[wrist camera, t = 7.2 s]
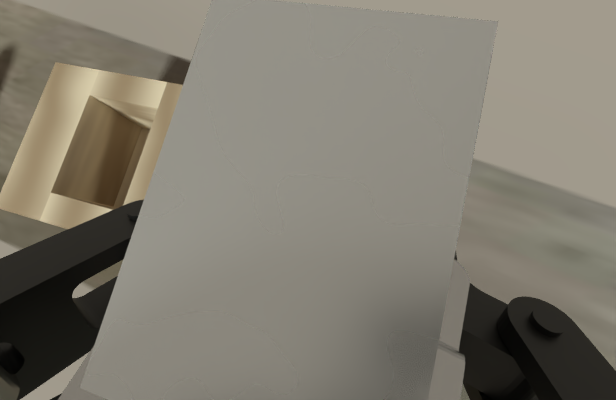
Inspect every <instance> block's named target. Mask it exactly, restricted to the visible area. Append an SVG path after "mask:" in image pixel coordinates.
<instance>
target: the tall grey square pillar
mask: <svg viewBox="0 0 616 400" xmlns="http://www.w3.org/2000/svg"><path fill="white" fill-rule="evenodd" d="M497 25H498V21H488V20H478V19H467V18H456V17H445V16H434V15H424V14H413V13H403V12H392V11H382V10H370V9H360V8H350V7H339V6H328V5H318V4H307V3H296V2H285V1H274V0H212V2H211V4H210V7H209V11H208V13H207V16H206V19H205V22H204V25H203V28H202V31H201V34H200V37H199V40H198V43H197V46H196V48H195V51H194V54H193V58H192V60H191V63H190V66H189V69H188V72H187V75H186V78H185V81H184V84H183V87H182V90H181V92H180V95H179V98H178V101H177V104H176V107H175V110H174V113H173V116H172V119H171V122H170V125H169V128H168V131H167V134H166V136H165V139H164V142H163V145H162V148H161V151H160V154H159V157H158V160H157V163H156V166H155V169H154V172H153V175H152V178H151V180H150V183H149V186H148V189H147V192H146V195H145V198H144V201H143V204H142V207H141V210H140V213H139V216H138V219H137V222H136V225H135V227H134V230H133V233H132V236H131V239H130V242H129V245H128V248H127V251H126V254H125V257H124V260H123V263H122V266H121V269H120V271H119V274H118V277H117V280H116V283H115V286H114V289H113V292H112V295H111V298H110V301H109V304H108V307H107V310H106V313H105V315H104V318H103V321H102V324H101V327H100V330H99V333H98V336H97V339H96V342H95V345H94V348H93V351H92V354H91V357H90V359H89V362H88V365H87V368H86V371H85V374H84V377H83V380H82V383H81V386H80V388H81V389H84V390H86V391H88V392H91V393H93V394H95V395H98V396H100V397H103V398H105V399H107V400H428V397H429V392H430V386H431V381H432V375H433V370H434V365H435V359H436V354H437V348H438V343H439V338H440V332H441V327H442V322H443V316H444V311H445V305H446V300H447V295H448V289H449V284H450V278H451V273H452V268H453V262H454V257H455V251H456V246H457V241H458V235H459V230H460V224H461V219H462V214H463V208H464V203H465V197H466V192H467V187H468V181H469V176H470V170H471V165H472V160H473V154H474V149H475V143H476V138H477V133H478V127H479V122H480V116H481V111H482V105H483V100H484V95H485V89H486V84H487V79H488V73H489V67H490V62H491V57H492V52H493V46H494V40H495V35H496V30H497Z"/></svg>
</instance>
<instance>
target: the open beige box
mask: <svg viewBox="0 0 616 400" xmlns="http://www.w3.org/2000/svg"><path fill="white" fill-rule="evenodd" d="M182 87H183V85H181V84H175V83H169V82H164V81H158V80H152V79H147V78H141V77H135V76H130V75H124V74H118V73H113V72H107V71H101V70H96V69H90V68H85V67H79V66H73V65H68V64H62V63H55V65H54V68H53V70H52V72H51V75H50V77H49V79H48V82H47V84H46V86H45V89H44V91H43V94H42V96H41V98H40V101H39V103H38V105H37V108H36V110H35V113H34V115H33V117H32V120H31V122H30V124H29V127H28V129H27V131H26V134H25V136H24V139H23V141H22V143H21V146H20V148H19V150H18V153H17V155H16V157H15V160H14V162H13V165H12V167H11V169H10V172H9V174H8V176H7V179H6V181H5V184H4V186H3V188H2V191H1V193H0V209H3V210H6V211H9V212H13V213H16V214H19V215H22V216H26V217H29V218H32V219H36V220H39V221H42V222H46V223H49V224H52V225H56V226H59V227H62V228H66V229H70V228H73V227H75V226H77V225H79V224H82V223H84V222H86V221H89V220H91V219H93V218H96V217H98V216H100V215H103V214H105V213H107V212H109V211H112V210H114V209H116V208H119V207H121V206H123V205H126V204H128V203H131V202H134V201H138V200H144V198H145V195H146V192H147V189H148V186H149V183H150V180H151V178H152V175H153V172H154V169H155V166H156V163H157V160H158V157H159V154H160V151H161V148H162V145H163V142H164V139H165V136H166V134H167V131H168V128H169V125H170V122H171V119H172V116H173V113H174V110H175V107H176V104H177V101H178V98H179V95H180V92H181V90H182Z"/></svg>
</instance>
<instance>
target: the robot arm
mask: <svg viewBox="0 0 616 400" xmlns="http://www.w3.org/2000/svg"><path fill="white" fill-rule="evenodd" d="M143 201H144V200H138V201H134V202H131V203H128V204H126V205H123V206H121V207H119V208H116V209H114V210H112V211H109V212H107V213H105V214H103V215H100V216H98V217H96V218H93V219H91V220H89V221H86V222H84V223H82V224H79V225H77V226H75V227H73V228H70V229H68V230H66V231H63V232H61V233H59V234H56V235H54V236H52V237H50V238H47V239H45V240H43V241H40V242H38V243H36V244H33V245H31V246H29V247H26V248H24V249H22V250H20V251H17V252H15V253H13V254H11V255H8V256H6V257H3V258H1V259H0V400H20V399H21V398H23V397H24V396H25V395H27V394H28V393H30V392H31V391H33V390H34V389H36V388H37V387H39V386H40V385H42V384H43V383H44V382H46V381H47V380H49V379H50V378H52V377H53V376H55V375H56V374H57V373H59V372H60V371H62V370H63V369H65V368H66V367H68V366H69V365H71V364H72V363H73V362H75V361H76V360H78V359H79V358H81V357H82V356H84V355H85V354H86V353H88V352H89V351H90V352H89V354H88V355H87V357H86V358H85V360H84V361H83V363H82V364H81V366H80V367H79V369H78V370H77V372H76V374H75V375H74V376H73V378H72V379H71V381H70V382H69V384H68V385H67V387H66V388H65V390H64V391H63V393H62V394H60V395H58V396H56V397H54V398H52V399H50V400H107V399H105V398H103V397H100V396H98V395H95V394H93V393H91V392H88V391H86V390H84V389H81V388H80V386H81V383H82V380H83V377H84V374H85V371H86V368H87V365H88V362H89V359H90V357H91V354H92V351H93V348H94V345H95V342H96V339H97V336H98V333H99V330H100V327H101V324H102V321H103V318H104V315H105V313H106V310H107V307H108V304H109V301H110V298H111V295H112V292H113V289H114V286H115V283H116V280H117V277H118V276H117V277H115V278H113V279H112V280H110V281H108V282H107V283H105V284H103V285H101V286H100V287H98V288H96V289H94V290H93V291H91V292H89V293H87V294H86V295H84V296H82V297H79V298H72V293H73V291H74V289H75V288H76V287H77V286H78V285H79V284H80V283H81V282H83V281H84V280H86V279H88V278H90V277H92V276H93V275H95V274H97V273H99V272H101V271H103V270H104V269H106V268H108V267H110V266H112V265H114V264H115V263H117V262H119V261H121V260H123V259H124V257H125V254H126V251H127V248H128V245H129V242H130V239H131V236H132V233H133V230H134V227H135V225H136V222H137V219H138V216H139V213H140V210H141V207H142V204H143ZM462 384H464V387H465V389H466V392H467V394H468V396H469V398H470V400H616V371H615V370H614V369H613V367H612V366H611V365H610V364H609V363H608V361H607V360H606V359H605V358H604V357H603V356H602V354H601V353H600V352H599V351H598V350H597V349H596V347H595V346H594V345H593V344H592V343H591V341H590V340H589V339H588V338H587V337H586V336H585V334H584V333H583V332H582V331H581V330H580V328H579V327H578V326H577V325H576V324H575V323H574V322H573V321H572V319H571V318H569V317H568V316H567V315H566V314H565V313H564V312H562V311H561V310H559V309H558V308H556V307H555V306H553V305H551V304H549V303H547V302H545V301H542V300H540V299H536V298H532V297H517V298H515V299H513V300H511V302H510V303H509V304H506V303H504V302H502V301H500V300H498V299H496V298H494V297H492V296H490V295H488V294H486V293H484V292H482V291H480V290H479V289H477V288H476V287H474V286H473V285H472V284H471V283H470V279H469V275H468V273H467V271H466V270H465V268H464V267H463V266H462V265H461V264H460V263H459V262H457V257H456V251H455V257H454V262H453V268H452V273H451V278H450V284H449V289H448V295H447V300H446V305H445V311H444V316H443V322H442V327H441V332H440V338H439V343H438V348H437V354H436V359H435V365H434V370H433V375H432V381H431V386H430V392H429V397H428V400H460V398H461V391H462Z"/></svg>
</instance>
